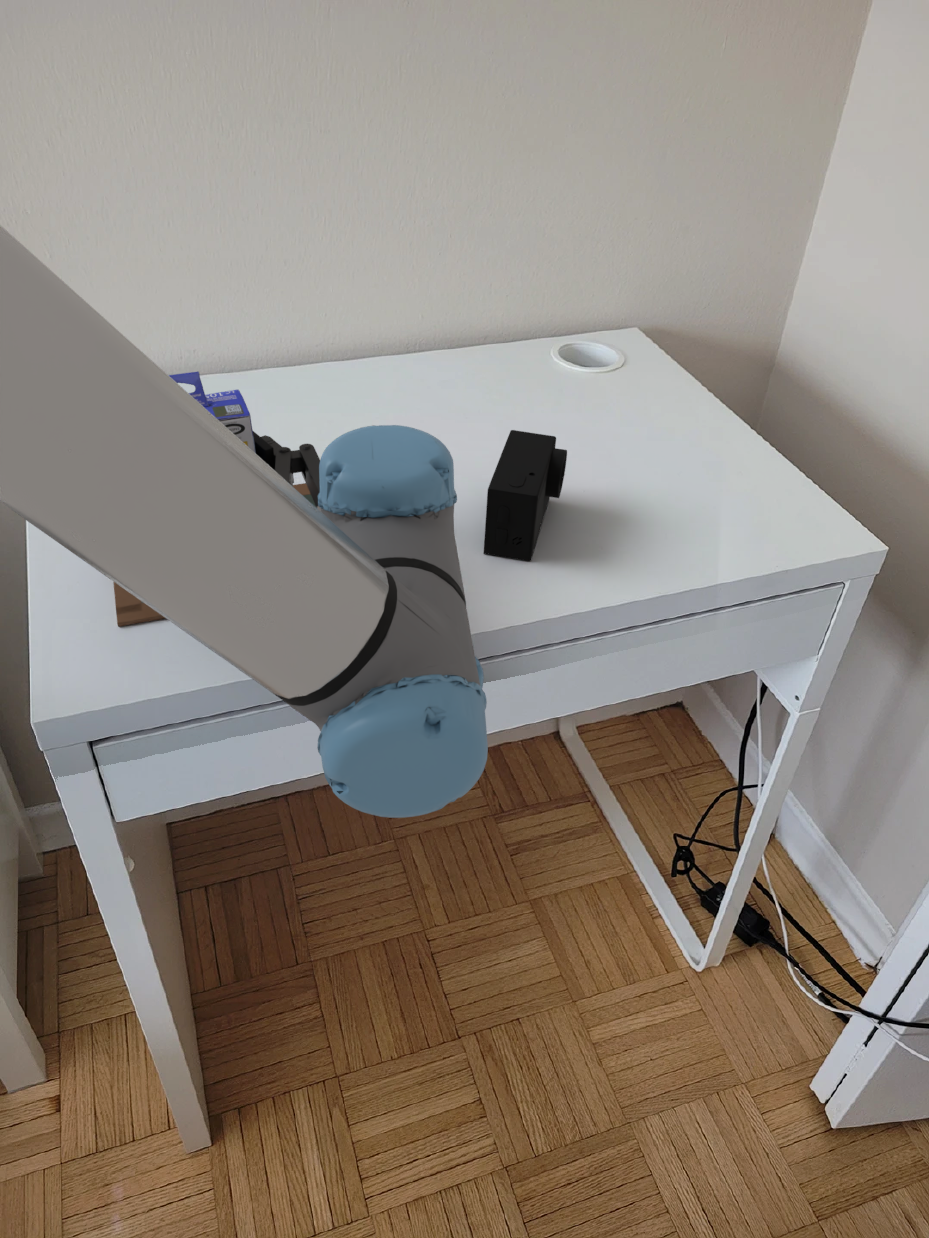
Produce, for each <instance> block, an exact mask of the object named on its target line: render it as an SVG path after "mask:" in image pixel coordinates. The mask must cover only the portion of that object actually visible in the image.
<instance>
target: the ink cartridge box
mask: <svg viewBox="0 0 929 1238" xmlns="http://www.w3.org/2000/svg"><path fill="white" fill-rule="evenodd" d="M168 375H169V376H170V377H171V378H172V379H173V380H174V381H175V382H176V383H177V384H186V385H192V386H194V388H195V389H194V391H193V392H188V393H189V394H190V395H191V396H192V397H193V398H194V399H195V400H196V401H198V402H199V403H200V404H201V405H202V406H203V407H204V408H205V409H207V410H208V411H209V412H210V413H211V414H212V415H213V416H214V417H215V418H217V419H218V420H219V421H220V422H221V423H222V424H223V425H224V426H226V427H227V428H228V429H229V430H230V431H231V432H232V433H233V434H234V435H236V436H237V437H238V438H239V439H240V440H241V441H242V442H243V443H244V444H246V445H247V446H248V447H249V448H250V449H251V450H252V451H253V452H255V445H254V437H253V431H254V430H253V425H252V416H251V412H250V411H249V408H248V406H247V403H246V401H245V399H244V396H243V395H242V393H241V391H240V390H239V389H231V390H226V391H219V392H213V393H207V394H206V393H205V390H204V386H203V383H202V379H201V376H200V371H192V372H184V373H176V374H168ZM255 453H256V452H255Z"/></svg>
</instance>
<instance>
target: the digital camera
mask: <svg viewBox="0 0 929 1238" xmlns="http://www.w3.org/2000/svg"><path fill="white" fill-rule="evenodd" d="M556 444H557V437H556V436H555V435H549V434H542V433H537V432H536V433H535V432H528V431H522V430H515V429H511V430H509V434H508V437H507V439H506V441H505V444H504V446H503V448H502V452H501V454H500V457H499V459H498V462H497V464H496V466H495V470H494V472H493V475H492V477H491V480H490V482H489V485H488V487H487V492H486V493H487V494H486V511H485V527H484V544H483V554H484V555H489V556H495V557H500V558H507V559H513V560H519V561H523V562H524V561H525V562H531V561H532V559H533V556H534V552H535V549H536V545H537V542H538V538H539V535H540V532H541V529H542V525H543V522H544V519H545V515H546V512H547V508H548V505H549V502H550V498H553V499H554V498H555V499H559V498H560V497H561V493H562V489H563V484H564V479H565V472H566V468H567V459H568V450H567V449H565V448H564V449H563V448H556Z"/></svg>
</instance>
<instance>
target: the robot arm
mask: <svg viewBox="0 0 929 1238" xmlns="http://www.w3.org/2000/svg"><path fill="white" fill-rule="evenodd" d="M169 375H170V374H168V373H167V372H166V371H164V370H163V369H162V368H161V367H160V366H159V365H158V364H156V363H155V361H153V360H152V359H151V358H150V357H149V356H148V355H147V354H146V353H144V352H143V351H142V350H141V349H140V348H138V347H137V346H136V344H134V343H133V342H132V341H131V340H130V339H128V338H127V336H125V335H124V334H123V333H122V332H121V331H120V330H119V329H117V327H115V326H114V325H113V324H112V323H111V322H110V321H108V320H107V319H106V318H105V317H104V316H103V315H102V314H101V313H100V312H99V311H97V310H96V309H95V308H94V307H92V305H91V304H90V303H88V302H87V301H86V300H85V299H84V298H83V297H82V296H80V294H79V293H77V292H76V291H75V290H74V289H73V288H72V287H71V286H69V285H68V284H67V283H66V282H65V281H64V280H62V278H60V276H58V275H57V274H56V273H55V272H54V271H53V270H52V269H50V268H49V267H48V266H47V265H46V264H45V263H43V261H42V260H40V259H39V258H38V257H37V256H36V255H35V254H34V253H33V252H32V251H30V250H29V249H28V248H27V247H26V246H25V245H24V244H23V243H21V242H20V241H19V240H18V239H17V238H16V237H15V236H13V235H12V234H11V232H9V231H8V230H7V229H6V228H5V227H4V226H2V225H1V224H0V503H1V504H3V505H4V506H5V507H6V508H8V509H10V510H11V511H12V512H13V513H15V514H16V515H18V516H19V517H20V518H23V519H24V520H25V521H27V522H28V523H29V524H30V525H32V526H34V527H35V528H36V529H38V530H39V531H41V532H42V533H44V534H45V535H46V536H48V537H49V538H51V539H52V540H54V541H55V542H56V543H58V544H60V545H61V547H64V548H65V549H66V550H68V551H70V552H71V553H72V554H73V555H75V556H76V557H78V558H79V559H81V560H82V561H84V562H85V563H86V564H88V565H89V566H91V567H92V568H94V569H95V570H96V571H98V572H100V574H102V575H104V576H105V577H107V578H108V579H109V580H110V581H112V582H113V581H114V582H115V583H116V584H118V585H119V586H121V587H122V588H124V589H125V590H126V591H128V592H129V593H131V594H132V595H134V596H135V597H136V598H138V599H139V600H141V601H142V602H144V603H145V604H146V605H148V606H149V607H151V608H152V609H153V610H155V611H156V612H158V613H159V614H161V615H162V616H163V617H165V619H166V620H168V621H169V622H171V623H172V624H173V625H174V626H176V627H178V628H179V629H181V631H183V632H184V633H186V634H188V635H189V636H190V637H192V638H193V639H195V640H196V641H198V642H199V643H200V644H202V645H203V646H205V647H206V648H207V649H209V650H210V651H211V652H213V653H215V654H216V655H217V656H219V657H221V658H222V659H223V660H225V661H226V662H228V663H229V664H230V665H232V666H233V667H235V668H236V669H238V670H239V671H240V672H242V673H243V674H245V675H246V676H248V678H250V679H252V680H253V681H254V682H256V683H258V684H259V685H260V686H262V687H263V688H265V689H266V690H268V691H269V692H270V693H272V694H273V695H275V696H276V697H277V698H279V699H280V700H282V701H283V702H284V703H285V704H287V705H288V706H289V707H291V708H292V709H293V710H295V711H296V712H298V713H299V714H300V715H301V716H303V717H305V718H306V719H307V720H309V721H310V722H312V723H313V724H314V725H316V727H317V728H318V729H319V731H320V732H319V735H318V738H317V752H318V754H319V756H320V758H321V765H322V771H323V774H324V778H325V781H326V782H327V784H328V785H329V786H330V788H331V789H332V790H331V791H332V793H333V794H334V795H335V796H336V797H337V798H338V799H339V800H340V801H342V802H343V803H344V804H346V805H348V806H349V807H351V808H352V809H355V810H356V811H359V812H361V813H365V814H367V815H370V816H371V815H372V816H377V817H381V818H390V819H391V818H392V819H393V818H396V819H402V818H403V819H404V818H412V817H419V816H424V815H428V814H430V813H434V812H437V811H439V810H441V809H443V808H444V807H446V806H447V805H448V804H450V803H455V801H457V799H461V798H462V797H464V796H465V795H466V794H468V793H469V791H470V790H471V789H472V788H473V787H474V786H475V785H476V784H477V783H478V781H479V780H480V778H481V776H482V775H483V773H484V771H485V768H486V764H487V761H488V751H489V745H488V744H489V743H488V733H487V719H486V718H487V717H486V709H487V704H488V703H487V702H488V701H487V695H486V693H485V691H484V690H483V688H484V679H485V678H484V676H485V675H484V669H483V667H482V665H481V662H480V660H479V659H478V657H477V656H476V654H475V649H474V648H475V647H474V643H473V638H472V637H473V636H472V631H471V625H470V622H469V621H470V620H469V615H468V614H469V613H468V610H467V601H466V596H465V595H466V594H465V588H464V582H463V577H462V570H461V565H460V559H459V553H458V547H457V541H456V535H455V534H456V533H455V504H456V503H457V501H458V494H457V492H456V489H455V471H454V470H455V468H454V467H455V466H454V459H453V457H452V454H451V452H450V450H449V449H448V447H447V446H446V445H445V444H444V443H443V442H442V441H441V440H440V439H438V438H437V437H436V436H435V435H432V434H430V433H429V432H426V431H424V430H422V429H418V428H415V427H412V426H406V425H401V424H399V425H398V424H390V425H389V424H387V425H385V424H383V425H367V426H362V427H359V428H355V429H352V430H350V431H347V432H345V433H343V434H341V435H340V436H338V437H336V438H335V439H334V440H332V441H331V442H330V443H329V444H328V445H327V446H326V447H325V449H324V451H323V452H322V453H321V456H320V457H319V455H318V453H317V451H316V448H315V446H314V445H313V444H311V443H303V444H300V445H299V447H298V449H296V450H295V449H294V450H291V448H290V447H287V446H282V445H281V444H280V443H278V442H277V441H276V440H275V439H273V438H272V437H271V436H269V435H261V436H260V435H259V434H257V432H255V431H254V430H253V437H254V445H255V452H256V453H255V452H253V451H252V450H251V449H250V448H249V447H248V446H247V445H246V444H244V443H243V442H242V441H241V440H240V439H239V438H238V437H237V436H236V435H234V434H233V433H232V432H231V431H230V430H229V429H228V428H227V427H226V426H224V425H223V424H222V423H221V422H220V421H219V420H218V419H217V418H215V417H214V416H213V415H212V414H211V413H210V412H209V411H208V410H207V409H205V408H204V407H203V406H202V405H201V404H200V403H199V402H198V401H196V400H195V399H194V398H193V397H192V396H191V395H190V394H189V393H190V392H188V391H187V390H185V389H184V388H183V387H182V386H181V385H180V383H176V382H175V381H174V380H173V379H172V378H171V377H170V376H169ZM298 473H301V475H302V478H303V480H304V483H306V485H307V487H308V489H309V491H310V494H311V496H312V498H313V501H314V503H315V505H316V507H317V508H316V507H315V506H314V505H313V504H311V503H310V502H309V501H308V500H307V499H306V498H305V497H304V496H303V495H301V494H300V493H299V492H298V491H297V490H296V489H295V488H294V487H293V485H294V484H295V480H294V479H295V478H294V474H298Z"/></svg>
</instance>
